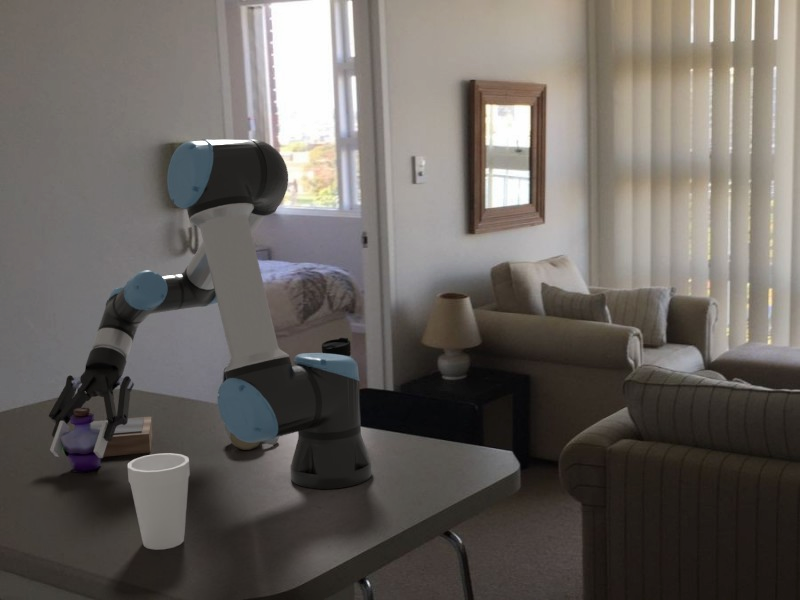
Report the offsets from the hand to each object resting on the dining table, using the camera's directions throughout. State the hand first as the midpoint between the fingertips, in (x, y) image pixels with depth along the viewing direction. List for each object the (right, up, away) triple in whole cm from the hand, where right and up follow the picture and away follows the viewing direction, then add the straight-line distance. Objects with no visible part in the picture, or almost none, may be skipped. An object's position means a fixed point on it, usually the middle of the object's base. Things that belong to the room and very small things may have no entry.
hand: (76, 454), depth 192 cm
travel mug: (+49, +1, +25) cm, 55 cm away
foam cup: (+25, -9, -35) cm, 44 cm away
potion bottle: (+1, -4, +4) cm, 5 cm away
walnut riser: (+3, -1, +18) cm, 19 cm away
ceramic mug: (+32, -1, +16) cm, 35 cm away
